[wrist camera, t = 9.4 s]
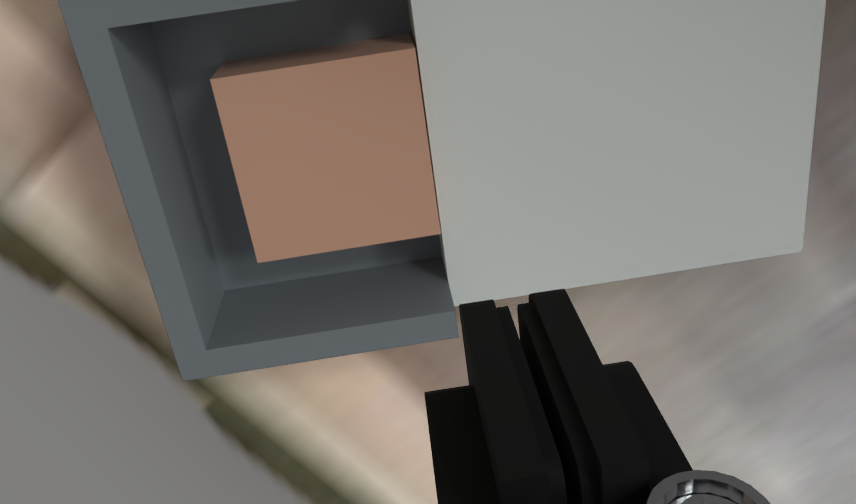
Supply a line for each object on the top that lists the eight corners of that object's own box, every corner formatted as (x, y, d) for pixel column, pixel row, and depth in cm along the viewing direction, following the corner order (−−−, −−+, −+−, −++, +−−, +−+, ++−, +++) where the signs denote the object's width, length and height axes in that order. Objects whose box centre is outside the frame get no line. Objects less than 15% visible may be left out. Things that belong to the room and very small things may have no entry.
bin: (111, -26, 24) (55, -7, 19) (396, -68, 24) (406, -58, 20) (209, 305, 29) (182, 381, 25) (442, 268, 29) (459, 337, 25)
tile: (223, 61, 24) (209, 79, 22) (409, 33, 24) (414, 47, 22) (265, 231, 27) (257, 263, 25) (433, 205, 27) (440, 234, 25)
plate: (396, -68, 24) (402, -62, 21) (784, -124, 24) (838, -126, 22) (442, 268, 29) (451, 307, 27) (761, 218, 30) (802, 251, 27)
